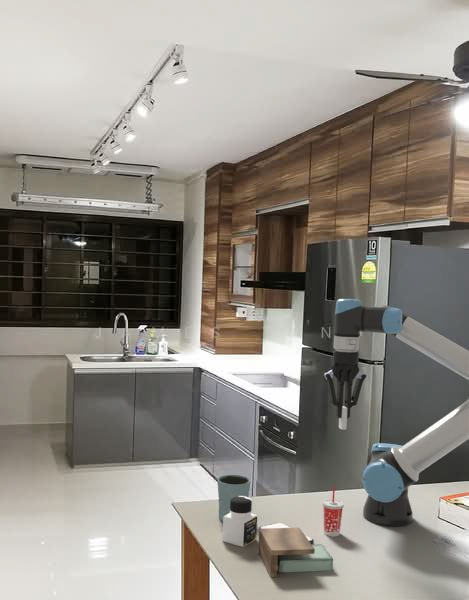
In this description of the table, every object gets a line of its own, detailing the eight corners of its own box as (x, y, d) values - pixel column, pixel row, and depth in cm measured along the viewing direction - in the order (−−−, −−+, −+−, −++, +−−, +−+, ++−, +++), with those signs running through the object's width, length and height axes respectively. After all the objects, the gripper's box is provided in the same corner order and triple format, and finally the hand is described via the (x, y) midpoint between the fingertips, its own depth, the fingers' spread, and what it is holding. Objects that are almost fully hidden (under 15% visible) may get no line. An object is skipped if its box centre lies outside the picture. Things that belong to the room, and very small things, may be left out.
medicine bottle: (243, 547, 179) (245, 504, 178) (221, 541, 182) (223, 498, 182) (256, 539, 185) (258, 497, 184) (235, 533, 188) (237, 492, 188)
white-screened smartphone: (256, 532, 192) (290, 551, 178) (257, 526, 192) (290, 545, 178) (281, 527, 196) (315, 545, 183) (281, 521, 196) (315, 539, 183)
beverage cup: (333, 528, 196) (336, 481, 195) (346, 535, 190) (348, 487, 190) (317, 531, 193) (319, 483, 192) (329, 538, 187) (331, 490, 187)
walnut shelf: (298, 552, 177) (299, 527, 177) (313, 575, 163) (314, 549, 163) (258, 553, 175) (259, 528, 175) (270, 577, 161) (271, 550, 161)
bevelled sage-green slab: (321, 555, 176) (322, 544, 176) (332, 570, 167) (333, 558, 167) (270, 557, 173) (271, 545, 173) (279, 572, 164) (279, 560, 164)
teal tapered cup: (226, 526, 193) (227, 486, 193) (209, 515, 202) (211, 476, 202) (255, 521, 199) (256, 481, 198) (238, 510, 207) (239, 472, 207)
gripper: (329, 351, 191) (325, 431, 192) (371, 352, 194) (367, 431, 194) (321, 348, 199) (317, 425, 200) (362, 349, 201) (358, 425, 202)
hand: (342, 428), depth 197 cm, fingers closed
